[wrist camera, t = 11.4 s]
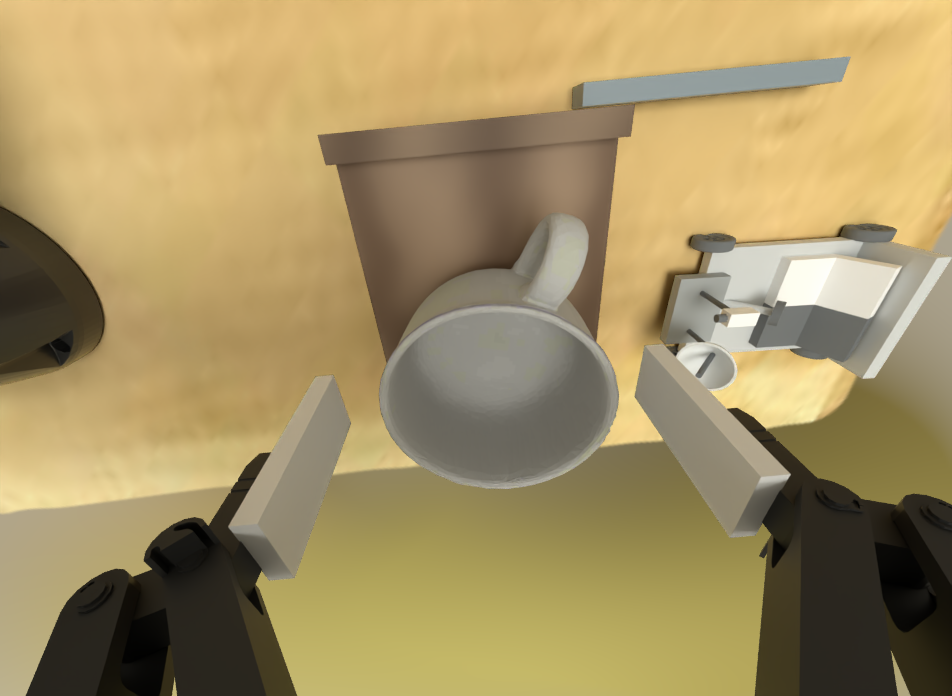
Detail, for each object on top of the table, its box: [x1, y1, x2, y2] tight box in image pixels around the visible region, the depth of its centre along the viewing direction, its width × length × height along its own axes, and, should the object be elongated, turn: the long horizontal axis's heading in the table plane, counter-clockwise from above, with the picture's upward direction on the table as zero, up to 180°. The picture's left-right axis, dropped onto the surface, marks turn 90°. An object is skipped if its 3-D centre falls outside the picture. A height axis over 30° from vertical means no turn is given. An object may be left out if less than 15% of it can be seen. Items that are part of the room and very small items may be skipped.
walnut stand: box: [318, 104, 635, 362], centre depth 25 cm, size 14×20×10 cm
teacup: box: [379, 213, 619, 489], centre depth 19 cm, size 14×11×8 cm
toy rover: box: [660, 224, 952, 391], centre depth 28 cm, size 18×10×12 cm
